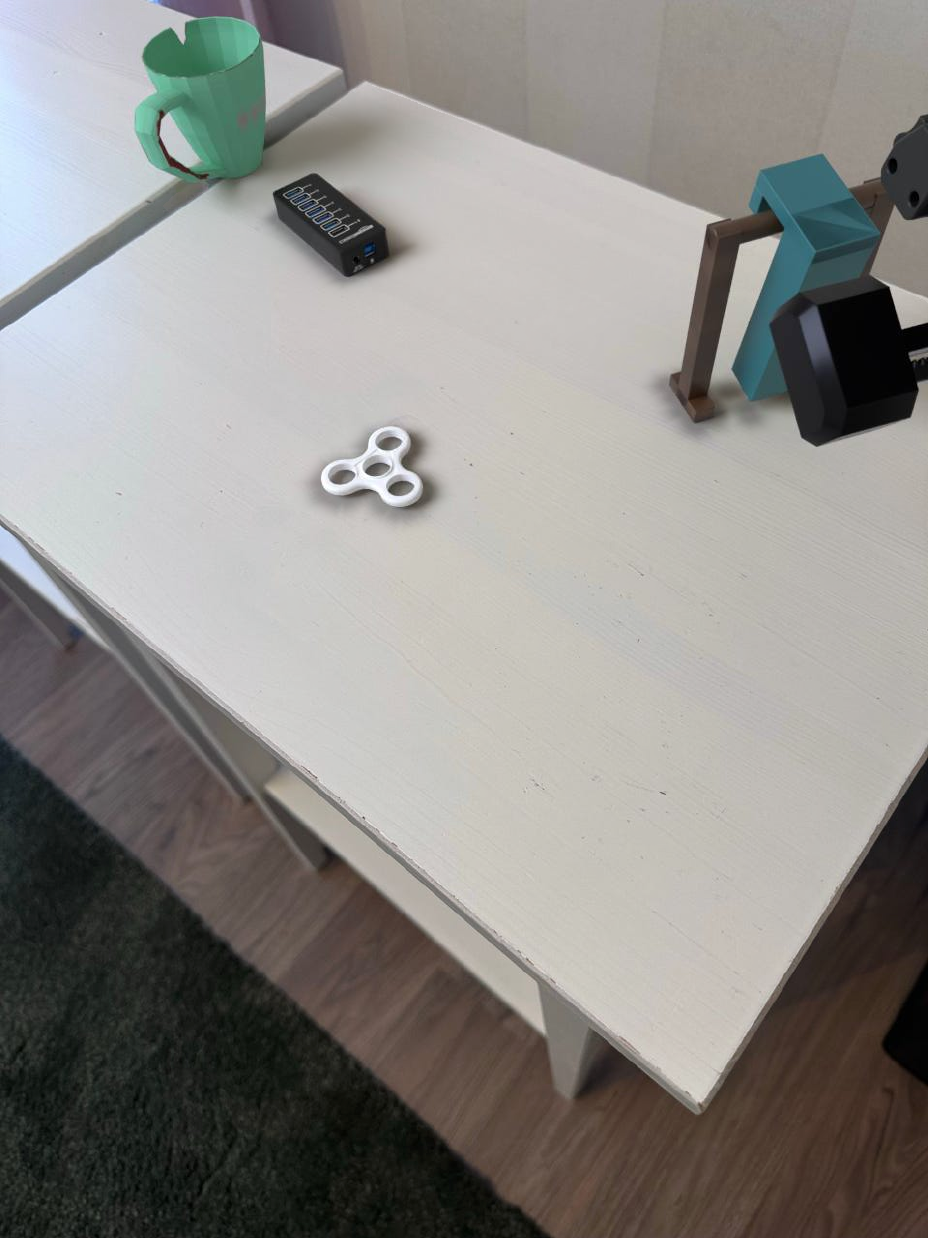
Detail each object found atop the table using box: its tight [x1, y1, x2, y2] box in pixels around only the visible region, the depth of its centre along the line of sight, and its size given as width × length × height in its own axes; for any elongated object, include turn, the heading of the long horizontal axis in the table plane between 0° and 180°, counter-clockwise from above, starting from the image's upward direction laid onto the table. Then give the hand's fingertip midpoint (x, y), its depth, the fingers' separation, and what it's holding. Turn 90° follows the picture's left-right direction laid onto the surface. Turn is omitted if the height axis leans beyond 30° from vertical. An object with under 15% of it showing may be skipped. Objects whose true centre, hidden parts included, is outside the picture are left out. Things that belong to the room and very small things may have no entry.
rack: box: [668, 176, 895, 424], centre depth 57 cm, size 4×12×14 cm, turn 108°
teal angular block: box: [730, 152, 881, 403], centre depth 56 cm, size 7×4×13 cm, turn 18°
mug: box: [133, 15, 267, 184], centre depth 77 cm, size 15×10×10 cm
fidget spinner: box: [320, 425, 424, 508], centre depth 60 cm, size 7×6×1 cm
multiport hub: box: [272, 172, 390, 277], centre depth 74 cm, size 4×11×2 cm, turn 37°
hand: (872, 380), depth 47 cm, fingers open, 9 cm apart
